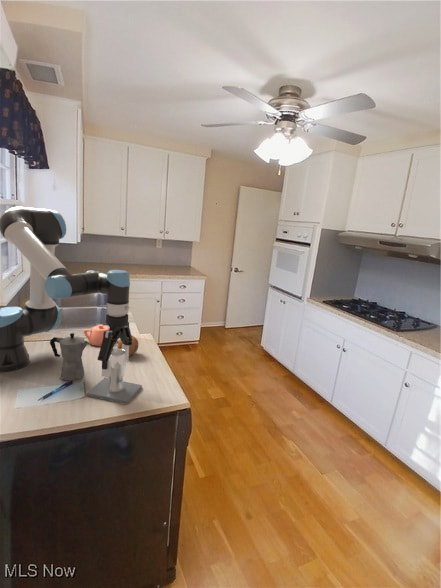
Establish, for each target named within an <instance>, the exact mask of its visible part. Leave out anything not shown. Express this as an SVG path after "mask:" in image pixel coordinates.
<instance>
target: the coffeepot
mask: <svg viewBox="0 0 441 588" xmlns="http://www.w3.org/2000/svg"><path fill="white" fill-rule="evenodd" d="M69 335H70V336H66V337H55V336H54V337H52V339H50V341H49V345H50V347H51V349H52V352H53V354H54V357H56V358H60V357H61V358H62V364H61V370H60V375H59V376H60V377H59V378H60V379H62V380H64V381H75V380H79V379H81V378H82V377H84V375H85V370H84V364H83V358H82V356H83V351H84V350H85V348H86V347H87V346H88V345H90V343H89V341H88V340H86V339H85V338H83V337H81V336H79V335H78V336H75V333H74V332H72V333H69ZM56 343H59V348H60V352H61V354H59V353H58V349H57V348H56V347H57V346H56Z"/></svg>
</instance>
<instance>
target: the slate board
mask: <svg viewBox="0 0 441 588" xmlns="http://www.w3.org/2000/svg"><path fill="white" fill-rule="evenodd" d="M123 384H124V389H123V390H122V391H121V392H117V393H111V392H109V391H108V390H107V386H108V377H104V378H103V379H101V380H100V381H99V382H98V383H97V384H95V385H94V386H93V387H91V388H90V389H89V390H88V391H87V392H86V397H91V398H95V399H100V400H104V401H109V402H114V403H118V404H122V405H128V404H129V403H130V402H131V401H132V400H133V398H134V397H135V396H136V395H137V394H138V393H139V392H140V391H141V389H142V388H143V385H142V384H140V383H139V384H138V383H135V382H129V381H124V380H123Z"/></svg>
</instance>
